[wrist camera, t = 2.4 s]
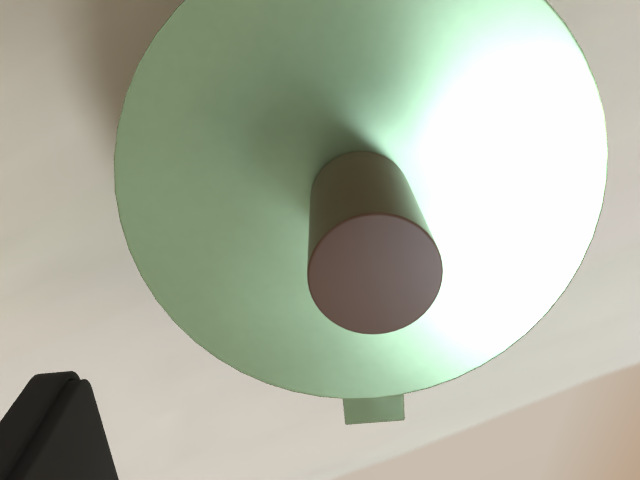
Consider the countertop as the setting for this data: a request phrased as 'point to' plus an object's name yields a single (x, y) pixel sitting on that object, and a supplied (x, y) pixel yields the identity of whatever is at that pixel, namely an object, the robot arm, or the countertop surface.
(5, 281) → the countertop surface
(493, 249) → the pot lid
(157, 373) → the countertop surface
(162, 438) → the countertop surface
